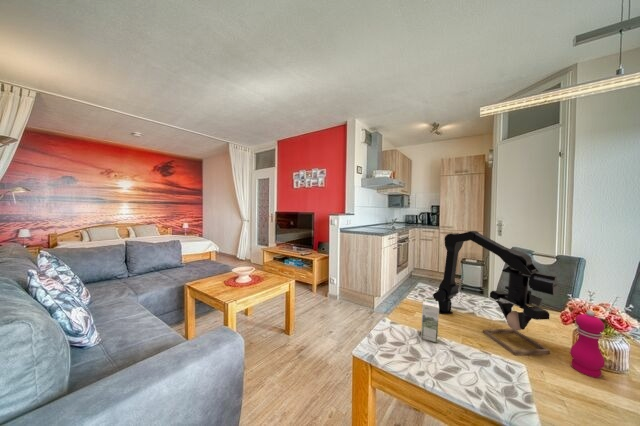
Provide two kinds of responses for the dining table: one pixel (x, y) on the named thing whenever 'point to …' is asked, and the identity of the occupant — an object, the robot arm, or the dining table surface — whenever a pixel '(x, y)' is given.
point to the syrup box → (430, 320)
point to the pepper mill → (588, 345)
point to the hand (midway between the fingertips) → (515, 325)
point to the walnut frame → (519, 352)
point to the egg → (513, 320)
